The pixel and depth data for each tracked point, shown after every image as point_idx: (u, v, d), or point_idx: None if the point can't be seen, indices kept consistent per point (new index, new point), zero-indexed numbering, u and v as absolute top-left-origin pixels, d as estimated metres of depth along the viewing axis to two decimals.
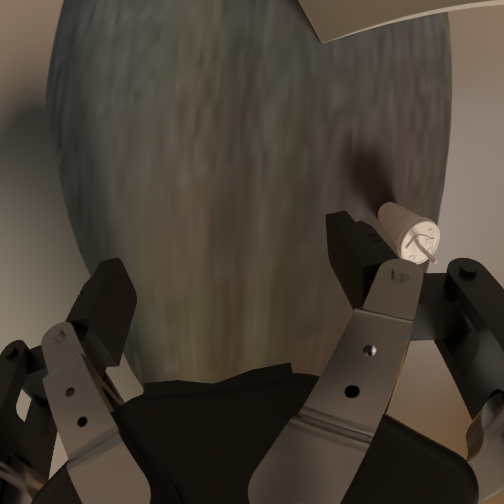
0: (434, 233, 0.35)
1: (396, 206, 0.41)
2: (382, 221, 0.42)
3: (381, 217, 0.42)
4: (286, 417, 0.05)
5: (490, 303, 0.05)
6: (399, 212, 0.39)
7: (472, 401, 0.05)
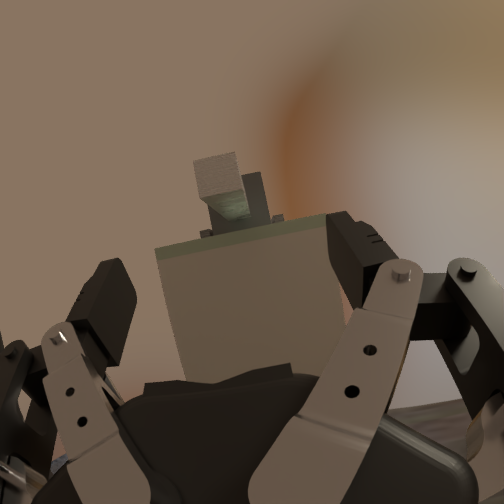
0: None
1: None
2: None
3: None
4: (286, 417, 0.05)
5: (490, 303, 0.05)
6: None
7: (472, 401, 0.05)
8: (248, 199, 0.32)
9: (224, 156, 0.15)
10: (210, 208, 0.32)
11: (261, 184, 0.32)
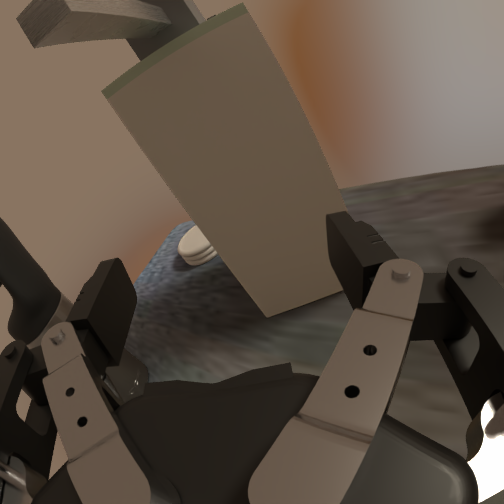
0: None
1: None
2: None
3: None
4: (286, 417, 0.05)
5: (490, 303, 0.05)
6: None
7: (472, 401, 0.05)
8: (163, 8, 0.19)
9: None
10: None
11: None
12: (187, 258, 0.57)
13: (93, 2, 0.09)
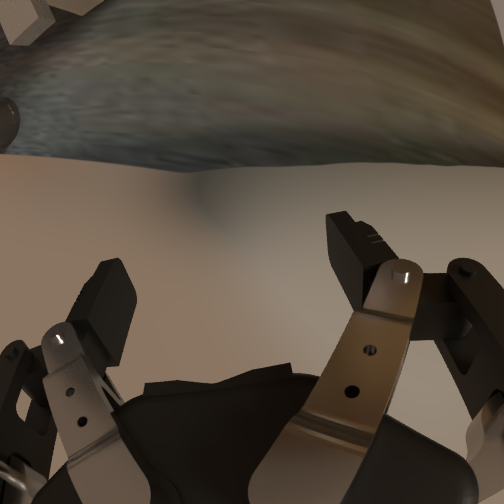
0: None
1: None
2: None
3: None
4: (286, 417, 0.05)
5: (490, 303, 0.05)
6: None
7: (472, 401, 0.05)
8: None
9: (32, 25, 0.09)
10: None
11: None
12: None
13: None
